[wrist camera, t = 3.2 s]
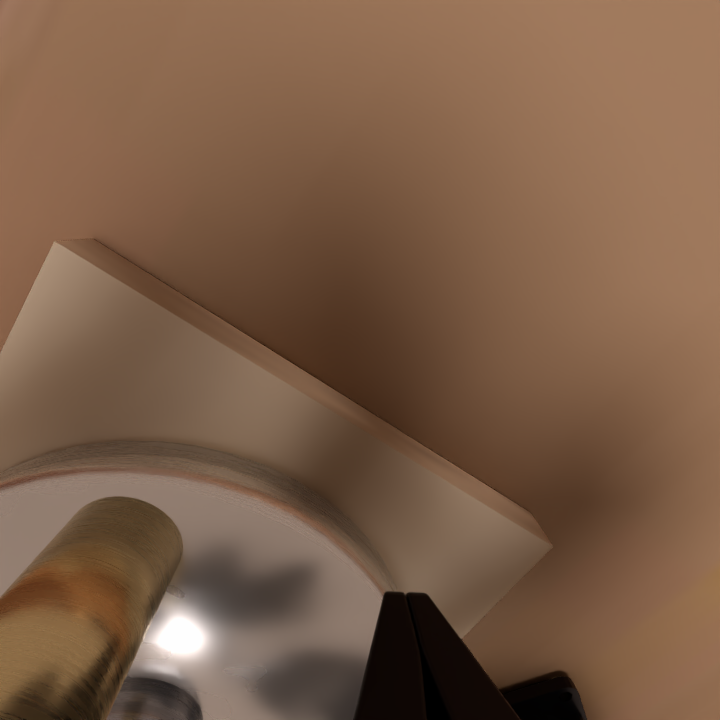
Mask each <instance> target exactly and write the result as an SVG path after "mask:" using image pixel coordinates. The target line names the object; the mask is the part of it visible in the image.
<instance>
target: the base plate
mask: <svg viewBox="0 0 720 720" xmlns="http://www.w3.org/2000/svg"><path fill="white" fill-rule="evenodd" d="M112 441H163V442H172V443H182V444H191V445H197V446H202V447H206V448H210V449H215V450H219V451H224V452H228V453H232V454H235V455H238V456H241V457H244V458H247V459H250V460H252V461H255V462H258V463H261V464H264V465H267V466H269V467H271V468H273V469H275V470H277V471H279V472H281V473H283V474H285V475H287V476H290V477H292V478H294V479H296V480H298V481H300V482H301V483H303V484H304V485H306V486H307V487H309V488H310V489H312V490H314V491H315V492H317V493H318V494H320V495H321V496H323V497H325V498H326V499H327V500H329V501H330V502H331V503H332V504H333V505H334V506H336V507H337V508H338V509H339V510H340V511H342V512H343V513H344V514H345V515H346V516H348V517H349V518H350V519H351V520H352V521H353V522H354V523H355V524H356V525H357V527H358V528H359V529H360V530H361V531H362V532H363V533H364V534H365V535H366V537H367V538H368V539H369V540H370V541H371V542H372V544H373V545H374V547H375V548H376V550H377V551H378V553H379V554H380V556H381V557H382V559H383V560H384V562H385V563H386V565H387V568H388V570H389V572H390V574H391V576H392V578H393V580H394V583H395V585H396V587H397V591H398V592H404V593H405V595H406V593H408V592H422V593H426V594H428V595H429V596H430V598H431V599H432V600H433V602H434V603H435V604H436V606H437V607H438V609H439V610H440V611H441V613H442V614H443V615H444V617H445V618H446V619H447V621H448V622H449V623H450V625H451V626H452V627H453V629H454V630H455V632H456V633H457V634H458V636H459V637H460V638H461V639H462V638H463V637H464V636H465V635H466V634H467V633H468V632H469V631H470V630H471V629H472V628H473V627H474V626H475V625H476V624H477V623H478V622H479V621H480V620H481V619H482V618H483V617H484V616H485V615H486V614H487V613H488V612H489V611H490V610H491V609H492V608H493V607H494V606H495V605H496V604H497V603H498V602H499V601H500V600H501V599H502V598H503V597H504V596H505V595H506V594H507V593H508V592H509V591H510V590H511V589H512V588H513V587H514V586H515V585H516V584H517V583H518V582H519V581H520V580H521V579H522V578H523V577H524V576H525V575H526V574H527V573H528V572H529V571H530V570H531V569H532V568H533V566H534V565H535V564H536V563H537V562H538V561H539V560H540V559H541V558H542V557H543V556H544V555H545V554H546V553H547V552H548V551H549V550H550V549H551V548H552V547H553V545H552V544H551V542H550V541H549V539H548V538H547V536H546V535H545V533H544V532H543V530H542V529H541V527H540V526H539V524H538V523H537V521H536V520H535V518H534V517H533V515H532V514H531V513H530V512H529V511H527V510H525V509H524V508H522V507H521V506H519V505H517V504H516V503H514V502H513V501H511V500H510V499H508V498H506V497H505V496H503V495H502V494H500V493H498V492H497V491H495V490H494V489H492V488H490V487H489V486H487V485H486V484H484V483H482V482H481V481H479V480H478V479H476V478H474V477H473V476H471V475H470V474H468V473H466V472H465V471H463V470H462V469H460V468H458V467H457V466H455V465H454V464H452V463H450V462H449V461H447V460H446V459H444V458H442V457H441V456H439V455H438V454H436V453H434V452H433V451H431V450H430V449H428V448H426V447H425V446H423V445H422V444H420V443H418V442H417V441H415V440H414V439H412V438H410V437H409V436H407V435H406V434H404V433H403V432H401V431H399V430H398V429H396V428H395V427H393V426H391V425H390V424H388V423H387V422H385V421H383V420H382V419H380V418H379V417H377V416H375V415H374V414H372V413H371V412H369V411H367V410H366V409H364V408H363V407H361V406H359V405H358V404H356V403H355V402H353V401H351V400H350V399H348V398H347V397H345V396H343V395H342V394H340V393H339V392H337V391H335V390H334V389H332V388H331V387H329V386H327V385H326V384H324V383H323V382H321V381H319V380H318V379H316V378H315V377H313V376H311V375H310V374H308V373H307V372H305V371H304V370H302V369H300V368H299V367H297V366H296V365H294V364H292V363H291V362H289V361H288V360H286V359H284V358H283V357H281V356H280V355H278V354H276V353H275V352H273V351H272V350H270V349H268V348H267V347H265V346H264V345H262V344H260V343H259V342H257V341H256V340H254V339H252V338H251V337H249V336H248V335H246V334H244V333H243V332H241V331H240V330H238V329H236V328H235V327H233V326H232V325H230V324H228V323H227V322H225V321H224V320H222V319H220V318H219V317H217V316H216V315H214V314H212V313H211V312H209V311H208V310H206V309H204V308H203V307H201V306H200V305H198V304H197V303H195V302H193V301H192V300H190V299H189V298H187V297H185V296H184V295H182V294H181V293H179V292H177V291H176V290H174V289H173V288H171V287H169V286H168V285H166V284H165V283H163V282H161V281H160V280H158V279H157V278H155V277H153V276H152V275H150V274H149V273H147V272H145V271H144V270H142V269H141V268H139V267H137V266H136V265H134V264H133V263H131V262H129V261H128V260H126V259H125V258H123V257H121V256H120V255H118V254H117V253H115V252H113V251H112V250H110V249H109V248H107V247H105V246H104V245H102V244H101V243H99V242H98V241H96V240H94V239H80V240H63V241H54V243H53V245H52V247H51V249H50V251H49V253H48V255H47V257H46V260H45V262H44V264H43V266H42V268H41V270H40V272H39V274H38V276H37V278H36V280H35V282H34V284H33V286H32V288H31V291H30V293H29V295H28V297H27V299H26V301H25V303H24V305H23V307H22V309H21V311H20V313H19V315H18V317H17V320H16V322H15V324H14V326H13V328H12V330H11V332H10V334H9V336H8V338H7V340H6V342H5V344H4V346H3V348H2V351H1V353H0V473H1V472H3V471H5V470H7V469H8V468H10V467H12V466H15V465H17V464H20V463H23V462H25V461H28V460H30V459H33V458H35V457H38V456H41V455H43V454H47V453H51V452H55V451H59V450H63V449H67V448H71V447H75V446H79V445H87V444H95V443H104V442H112Z"/></svg>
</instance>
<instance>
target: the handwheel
mask: <svg viewBox="0 0 720 720" xmlns="http://www.w3.org/2000/svg"><path fill="white" fill-rule="evenodd" d="M386 591H397V587H396V585H395V583H394V580H393V578H392V576H391V574H390V572H389V570H388V568H387V565H386V563H385V562H384V560H383V559H382V557H381V556H380V554H379V553H378V551H377V550H376V548H375V547H374V545H373V544H372V542H371V541H370V540H369V539H368V538H367V537H366V535H365V534H364V533H363V532H362V531H361V530H360V529H359V528H358V527H357V525H356V524H355V523H354V522H353V521H352V520H351V519H350V518H349V517H348V516H346V515H345V514H344V513H343V512H342V511H340V510H339V509H338V508H337V507H336V506H334V505H333V504H332V503H331V502H330V501H329V500H327V499H326V498H325V497H323V496H321V495H320V494H318V493H317V492H315V491H314V490H312V489H310V488H309V487H307V486H306V485H304V484H303V483H301V482H300V481H298V480H296V479H294V478H292V477H290V476H287V475H285V474H283V473H281V472H279V471H277V470H275V469H273V468H271V467H269V466H267V465H264V464H261V463H258V462H255V461H252V460H250V459H247V458H244V457H241V456H238V455H235V454H232V453H228V452H224V451H219V450H215V449H210V448H206V447H202V446H197V445H191V444H182V443H172V442H163V441H112V442H104V443H95V444H87V445H79V446H75V447H71V448H67V449H63V450H59V451H55V452H51V453H47V454H43V455H41V456H38V457H35V458H33V459H30V460H28V461H25V462H23V463H20V464H17V465H15V466H12V467H10V468H8V469H7V470H5V471H3V472H1V473H0V720H353V717H354V712H355V708H356V704H357V700H358V696H359V692H360V688H361V684H362V680H363V676H364V672H365V668H366V664H367V660H368V656H369V651H370V647H371V643H372V639H373V635H374V631H375V627H376V623H377V619H378V615H379V611H380V607H381V603H382V599H383V595H384V593H385V592H386Z"/></svg>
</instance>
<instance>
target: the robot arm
mask: <svg viewBox="0 0 720 720" xmlns="http://www.w3.org/2000/svg"><path fill="white" fill-rule="evenodd" d="M353 720H587V718H586V715H585V712H584V709H583V705H582V702H581V699H580V696H579V693H578V691H577V689H576V687H575V685H574V683H573V681H572V680H571V679H570V678H569V677H565V676H561V677H556V678H553V679H550V680H547V681H544V682H540V683H537V684H534V685H531V686H528V687H525V688H522V689H518V690H515V691H512V692H509V693H506V694H503V695H502V694H501V692H500V691H499V690H498V688H497V687H496V686H495V684H494V683H493V682H492V680H491V679H490V677H489V676H488V675H487V673H486V672H485V671H484V669H483V668H482V667H481V665H480V664H479V663H478V661H477V660H476V659H475V657H474V656H473V654H472V653H471V652H470V650H469V649H468V648H467V646H466V645H465V644H464V642H463V641H462V640H461V638H460V637H459V636H458V634H457V633H456V632H455V630H454V629H453V627H452V626H451V625H450V623H449V622H448V621H447V619H446V618H445V617H444V615H443V614H442V613H441V611H440V610H439V609H438V607H437V606H436V604H435V603H434V602H433V600H432V599H431V598H430V596H429V595H428V594H426V593H422V592H408V593H406V595H405V593H404V592H398V591H386V592H385V593H384V595H383V599H382V603H381V607H380V611H379V615H378V619H377V623H376V627H375V631H374V635H373V639H372V643H371V647H370V651H369V656H368V660H367V664H366V668H365V672H364V676H363V680H362V684H361V688H360V692H359V696H358V700H357V704H356V708H355V712H354V717H353Z"/></svg>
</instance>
